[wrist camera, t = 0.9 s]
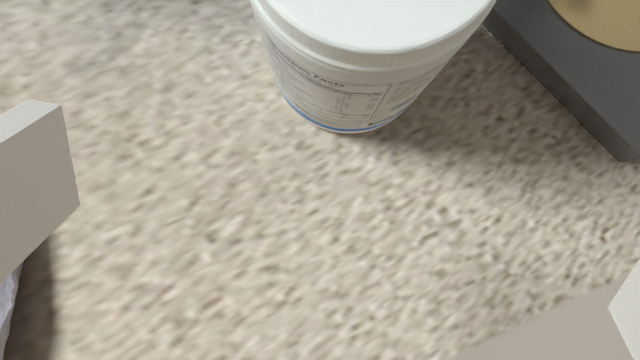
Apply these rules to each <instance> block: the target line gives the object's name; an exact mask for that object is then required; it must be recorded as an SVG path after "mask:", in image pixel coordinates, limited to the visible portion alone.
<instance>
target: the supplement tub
mask: <svg viewBox="0 0 640 360" xmlns="http://www.w3.org/2000/svg"><path fill="white" fill-rule="evenodd" d="M495 2H496V0H250V3H251V6H252V9H253V12H254V15H255V19H256V22H257V25H258V28H259V31H260V34H261V38H262V41H263V44H264V48H265V51H266V54H267V57H268V60H269V63H270V67H271V70H272V73H273V77H274V79H275V82H276V84H277V87H278V89H279V91H280V93H281V95H282V97H283V98H284V100H285V101H286V102H287V104H288V105H289V106H290V107H291V109H292V110H293V111H294V112H296V113H297V114H298V115H299V116H300V117H301V118H303V119H304V120H306V121H307V122H309V123H310V124H312V125H314V126H316V127H319V128H321V129H324V130H327V131H331V132H336V133H362V132H368V131H371V130H375V129H377V128H380V127H382V126H384V125H386V124H388V123H390V122H391V121H393V120H394V119H396V118H397V117H398V116H399V115H401V114H402V113H403V112H404V111H405V110H406V109H407V108H408V107H409V106H410V105H411V104H412V103H413V101H414V100H415V99H416V98H417V97H418V96H419V95H420V94H421V92H422V91H423V90H424V89H425V88H426V87H427V86H428V85H429V83H430V82H431V81H432V80H433V79H434V78H435V77H436V76H437V74H438V73H439V72H440V71H441V70H442V69H443V68H444V66H445V65H446V64H447V63H448V62H449V61H450V60H451V59H452V57H453V56H454V55H455V54H456V53H457V52H458V50H459V49H460V48H461V47H462V46H463V45H464V44H465V42H466V41H467V40H468V39H469V38H470V36H471V35H472V34H473V33H474V32H475V31H476V29H477V28H478V27H479V26H480V25H481V23H482V22H483V21H484V19H485V18H486V17H487V15H488V14H489V12H490V11H491V9H492V7H493V6H494V4H495Z"/></svg>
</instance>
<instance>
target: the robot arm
mask: <svg viewBox="0 0 640 360" xmlns="http://www.w3.org/2000/svg"><path fill="white" fill-rule="evenodd" d="M79 206H80V202H79V197H78V192H77V186H76V181H75V176H74V170H73V165H72V160H71V154H70V149H69V144H68V138H67V133H66V128H65V122H64V117H63V112H62V106H61V105H60V104H54V103H49V102H43V101H38V100H32V99H27V100H25V101H24V102H22V103H20V104H18V105H16V106H15V107H13V108H11V109H9V110H8V111H6V112H4V113H2V114H0V284H1V283H2V282H3V281H4V280H5V279H6V278H7V277H8V276H9V275H10V274H11V273H12V272H13V271H14V270H15V269H16V268H17V267H18V266H19V265H20V264H21V263H22V262H23V261H24V260H25V259H26V258H27V257H28V256H29V255H30V254H31V253H32V252H33V251H34V250H35V249H36V248H37V247H38V246H39V245H40V244H41V243H42V242H43V241H44V240H45V239H46V238H47V237H48V236H49V235H50V234H51V233H52V232H53V231H54V230H55V229H56V228H57V227H58V226H59V225H60V224H61V223H62V222H63V221H64V220H65V219H67V218H68V217H69V216H70V215H71V214H72V213H73V212H74V211H75V210H76V209H77V208H78V207H79ZM608 309H609V311H610V314H611V316H612V317H613V320H614V322H615V323H616V325H617V327H618V330H619V332H620V334H621V336H622V338H623V339H624V342H625V344H626V346H627V348H628V350H629V352H630V354H631V356H632V358H633V360H640V259H639V260H638V262H637V263H636V265H635V267H634V268H633V270H632V271H631V273H630V274H629V276H628V277H627V279H626V280H625V282H624V283H623V285H622V286H621V288H620V289H619V291H618V292H617V294H616V295H615V297H614V298H613V300H612V301H611V303H610V305H609V306H608Z"/></svg>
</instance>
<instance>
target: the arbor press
mask: <svg viewBox="0 0 640 360" xmlns="http://www.w3.org/2000/svg"><path fill="white" fill-rule="evenodd" d="M482 23H483V24H484V25H485V26H486V27H487V28H488V29H489V30H490V32H491V33H492V34H493V35H494V36H495V37H496V38H497V39H498V40H499V41H500V42H501V43H502V44H503V45H504V46H505V47H506V48H507V49H508V50H509V51H510V52H511V53H512V54H513V55H514V56H515V57H516V58H517V59H518V60H519V61H520V62H521V63H522V64H523V65H524V66H525V67H526V68H527V69H528V70H529V71H530V72H531V73H532V74H533V75H534V76H535V77H536V78H537V79H538V80H539V81H540V82H541V83H542V84H543V85H544V86H545V87H546V88H547V89H548V90H549V91H550V92H551V93H552V94H553V95H554V96H555V97H556V98H557V99H558V100H559V101H560V102H561V103H562V104H563V105H564V106H565V107H566V108H567V109H568V110H569V111H570V112H571V113H572V114H573V115H574V116H575V117H576V118H577V119H578V120H579V121H580V122H581V123H582V124H583V125H584V126H585V128H586V129H587V130H588V131H589V132H590V133H591V134H592V135H593V136H594V137H595V138H596V139H597V140H598V141H599V142H600V143H601V144H602V145H603V146H604V147H605V148H606V149H607V150H608V151H609V152H610V153H611V154H612V155H613V156H614V157H615V158H616V159H617V160H618V161H619V162H624V161H629V160H634V159H639V158H640V0H496V2H495V4H494V6H493V7H492V9H491V11H490V12H489V14H488V15H487V17H486V18H485V19H484V21H483V22H482Z"/></svg>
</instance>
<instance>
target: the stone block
mask: <svg viewBox="0 0 640 360" xmlns="http://www.w3.org/2000/svg"><path fill="white" fill-rule="evenodd" d="M23 263H24V261H23V262H22V263H21V264H20V265H19V266H18V267H17V268H16V269H15V270H14V271H13V272H12V273H11V274H10V275H9V276H8V277H7V278H6V279H5V280H4V281H3V282H2V283H1V284H0V360H3V356H4V349H5V344H6V341H7V339H8V337H9V331H10V328H11V327H10V322H11V318H12V316H13V309H14V305H15V298H16V295H17V292H18V286H19V278H20V274H21V271H22V268H23Z"/></svg>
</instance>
